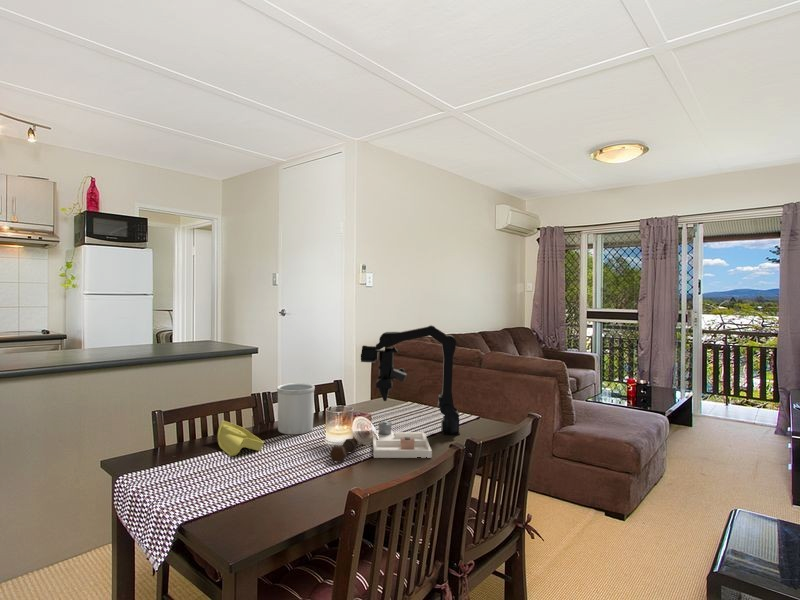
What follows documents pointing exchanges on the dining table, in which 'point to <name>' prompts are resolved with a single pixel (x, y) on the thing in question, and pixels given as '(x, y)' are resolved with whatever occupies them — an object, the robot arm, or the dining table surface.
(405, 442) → the pink cube
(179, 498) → the dining table surface
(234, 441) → the plastic component
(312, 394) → the utensil holder
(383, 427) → the grey cylinder
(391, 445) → the white flat rectangular tray
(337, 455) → the dark brown dumbbell
